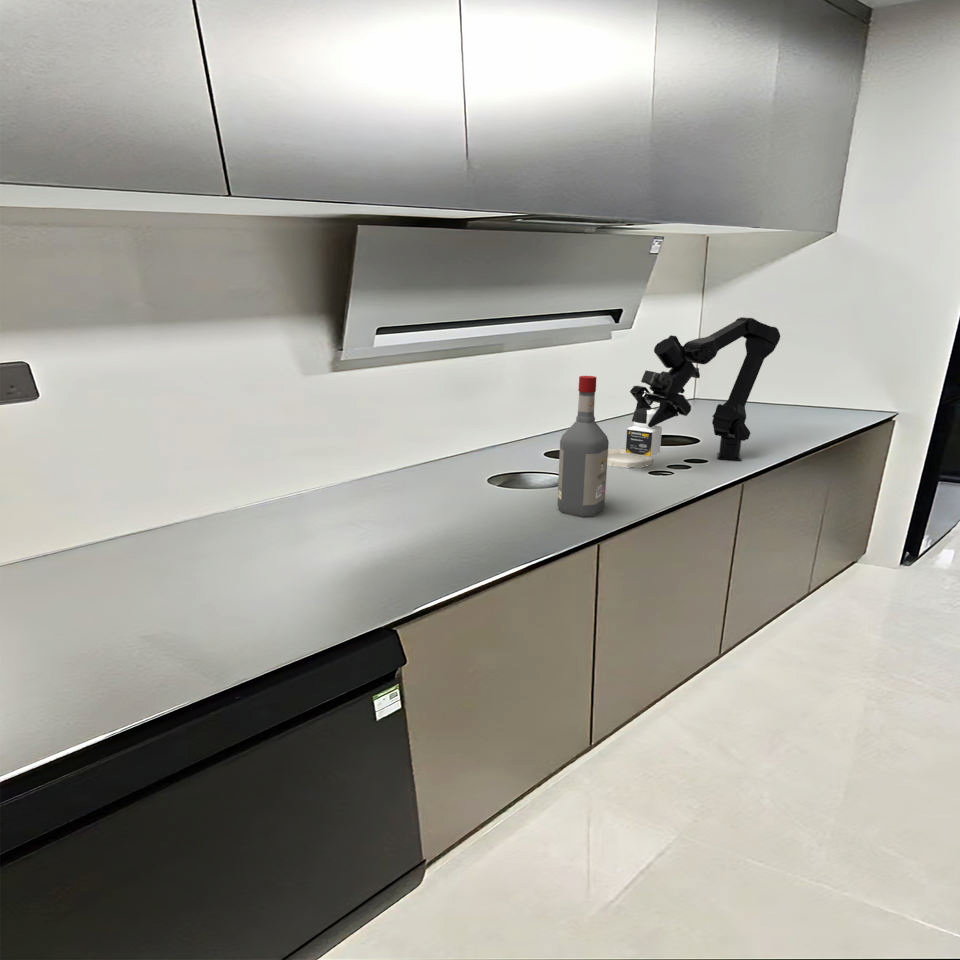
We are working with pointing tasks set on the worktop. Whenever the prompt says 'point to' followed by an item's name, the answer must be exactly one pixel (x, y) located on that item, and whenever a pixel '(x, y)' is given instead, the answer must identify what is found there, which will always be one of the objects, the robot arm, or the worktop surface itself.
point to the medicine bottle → (643, 434)
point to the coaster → (626, 459)
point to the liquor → (583, 459)
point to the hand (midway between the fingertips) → (640, 424)
